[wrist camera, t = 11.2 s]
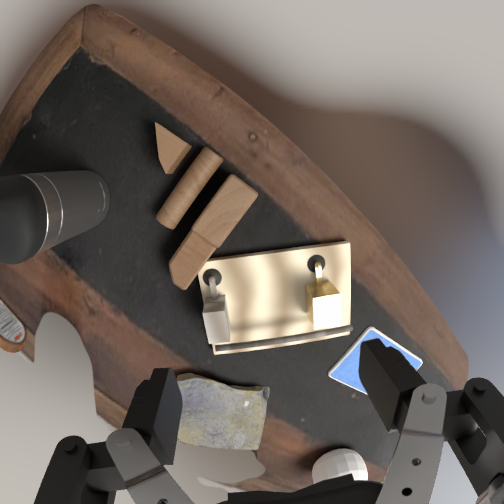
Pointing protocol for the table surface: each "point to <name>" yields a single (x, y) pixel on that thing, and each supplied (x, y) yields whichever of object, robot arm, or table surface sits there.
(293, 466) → the table surface
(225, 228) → the wooden block set
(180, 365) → the table surface
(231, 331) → the cream panel
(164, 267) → the table surface
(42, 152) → the table surface
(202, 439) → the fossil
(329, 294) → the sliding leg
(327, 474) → the white faceted vase
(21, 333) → the tin
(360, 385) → the tablet computer
